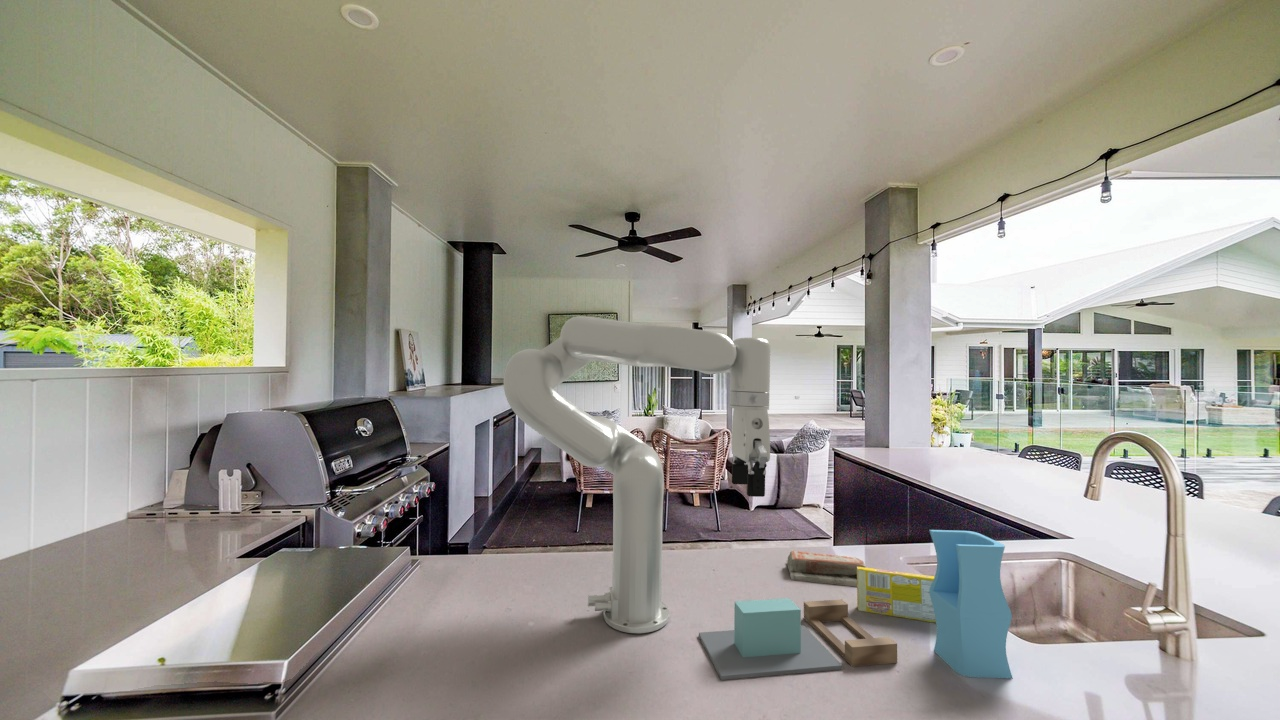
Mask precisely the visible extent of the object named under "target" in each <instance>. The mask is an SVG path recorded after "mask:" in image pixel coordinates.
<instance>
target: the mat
mask: <svg viewBox="0 0 1280 720" xmlns="http://www.w3.org/2000/svg"><path fill="white" fill-rule="evenodd" d="M698 637H699V640H700V641H701V643H702V645H703V647H704V649H705V651H706V653H707V655H708V657H709V658H710V659H709V660H711V663H712V664H713V667H714V669H715V670H716V672H717V674H718V677H719V679H720V680H721V681H724V680H726V681H727V680H736V679H737V680H738V679H748V678H758V677H770V676H779V675H783V676H784V675H792V674H802V673H803V674H804V673H815V672H825V671H835V670H837V671H838V670H843V664H841V662H840V661H839V660H838V659H837V658H836V657H835V656H834V655H833V654H832V653H831V652H830V650H828V649H827V648H826V647H825V646H824V645H823V643H822V642H820V640H819V639H817V637H816V636H815V635H814V634H813V633H812V632H811V631H810V630H809V629H808V628H807V627H806V626H805V625H804V624H801V653H793V654H780V655H767V656H754V657H743V656H742V655H741V653H740V652H739V650H738V648H737V647H736V645H735V644H734V629H732V630H718V631H704V632H698Z"/></svg>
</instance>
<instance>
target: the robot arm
mask: <svg viewBox="0 0 1280 720" xmlns="http://www.w3.org/2000/svg"><path fill="white" fill-rule="evenodd" d="M593 361H594V362H603V363H610V364H617V365H624V366H630V367H640V368H652V367H653V368H654V367H664V368H666V367H667V368H675V369H684V370H690V371H697V372H700V373H701V374H702V373H703V374H705V375H717V374H726V373H727V374H728V373H729V374H730V375H729V376H730V379H729V408H730V409H733V411H732V424H731V435H730V436H731V437H730V438H731V439H730V440H731V441H730V442H731V443H730V444H731V445H730V446H731V447H730V448H731V454H732V458H731V463H732V464H731V484H733V485H746V495H747V496H748V497H755V498H756V497H757V498H761V497H763V498H764V497H765V495H766V475H767V470H766V468H767V466H768V465H767V463H768V462H770V460H771V435H770V431H771V430H770V419H769V412H768V410H770V388H771V386H770V382H771V380H770V377H771V371H770V370H771V344H770V342H769V341H768V339H765V338H762V337H739V338H736V339H734V340H733V339H731V338H730V337H729V336H728V335H726V334H724V333H721V332H717V331H712V330H706V329H705V330H704V329H696V328H688V327H680V326H669V325H666V326H665V325H657V324H650V323H640V322H631V321H624V320H616V319H608V318H602V317H594V316H585V315H580V316H578V315H577V316H573V317H571V318H569V319H567V320H566V322H564V324H563V326H562V327H561V330H560V336H559V337H558V338H556V339H555V340H554V341H553V342H551V343H549V344H548V345H547V346H545V347H544V348H542V349H537V348H526V349H522V350H520V351H517V352H516V353H514V354H513V355H512V356H511V357H510V358H509V360H508V361H507V363H506V366H505V370H504V374H503V390H504V391H503V392H504V395H505V398H506V401H507V403H508V405H509V407H510V408H511V410H512V411H513V413H514V414H515V415H516V416H517V417H518V418H519V419H520V420H521V421H522V422H523V423H524V424H526V425H527V426H528V427H530V429H532V430H534V431H535V432H537V433H538V434H540V435H541V436H542V437H544V438H545V439H546V440H548V442H550V443H551V444H552V445H554V446H556V447H557V448H559V449H560V450H562V451H563V452H565V453H566V454H567V455H569V456H570V457H571V458H573V459H574V460H575V461H577V462H578V463H579V464H581V465H583V466H584V467H588V468H600V467H601V468H603V469H604V470H606V471H607V472H608V473H609V474H612V475H613V476H612V477H613V478H612V499H613V500H612V503H613V504H612V506H613V507H612V509H613V512H612V513H613V516H612V517H613V519H612V522H613V523H612V524H613V525H612V536H613V537H612V582H611V583H612V585H611V586H609V589H608V590H609V591H607V592H604V594H588V595H587V606H588V607H594V611H595V612H600V611H603V620H604V622H605V623H606V624H607V625H608V626H609V627H611V629H612V628H613V629H614V630H616V631H619V632H623V633H628V634H646V633H647V634H648V633H652V632H655V631H658V630H660V629H662V628H664V626H666V625H667V624H668V623H669V620H670V609H669V607H668V606H667V605H666V603H665V602H664V601H663V600H662V592H663V591H662V589H663V588H662V587H663V583H662V581H663V577H662V576H663V510H664V492H665V476H664V468H663V463H662V461H661V458H660V456H659V454H658V452H657V451H656V450H655V449H654V448H653V447H652V446H650V445H649V444H647V443H646V442H644V441H643V440H641V439H639V438H638V437H637V436H636V435H634V434H632V433H631V432H630V431H628V430H626V429H625V428H624V427H622V426H620V425H619V424H618V423H616V421H613V420H611V419H610V418H608V417H605V416H603V415H602V416H601V415H591V414H589V413H588V412H586V411H585V410H583V409H582V408H580V407H578V406H577V405H576V404H574V403H573V402H572V401H570V400H569V399H568V398H566V397H565V396H563V395H561V394H560V393H559V392H557V391H556V390H555V389H554V388H556V387H558V386H559V385H560V384H562V383H563V382H566V381H567V380H568V379H569V378H570V377H572V376H573V375H575V374H576V373H578V372H579V371H580V370H582V369H583V368H585V367H587V366H588V365H589V364H590V363H591V362H593Z"/></svg>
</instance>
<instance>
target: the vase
mask: <svg viewBox="0 0 1280 720" xmlns="http://www.w3.org/2000/svg"><path fill="white" fill-rule="evenodd" d="M929 534H930V537H931V540H932V542H933V545H934V551H935V554H936V562H937V563H936V569H935V570H936V572H935V575H934V576H935V577H934V580H933V582H932V584H931V587H930V589H929V592H930V598H931V601H932V604H933V608H934V612H935V617H936V623H935V624H936V638H935V643H934V648H933V651H934V652H935V653H936V655H938V656H939V657H940V658H941V659H942V660H943V661H944V662H945V663H946V664H947V665H948V666H949V667H950V668H951V669H952V670H953V671H954V672H955V673H957V674H959V675H961V676H963V677H967V678H984V679H985V678H986V679H987V678H988V679H1011V680H1012V679H1013V675H1012V672H1011V668H1010V665H1009V660H1008V656H1007V639H1008V638H1007V637H1008V632H1009V630H1010V629H1009V628H1010V626H1011V623H1012V611H1011V609H1010V607H1009V604H1008V601H1007V598H1006V597H1005V593H1004V590H1003V586H1002V582H1001V581H1002V580H1001V566H1002V560H1003V555H1004V551H1005V548H1006V545H1004V544H1003V543H1001V542H999V541H997V540H995V539H993V538H990V537H989V536H987V535H984V534H981V533H979V532H976V531H971V530H956V529H955V530H950V529H949V530H947V529H946V530H945V529H929Z"/></svg>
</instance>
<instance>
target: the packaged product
mask: <svg viewBox="0 0 1280 720" xmlns="http://www.w3.org/2000/svg"><path fill="white" fill-rule="evenodd" d="M786 564H787V565H786V566H787V569H788V572H789V576H790V579H791V580H793V581H803V582H805V581H806V582H811V583H819V584H821V583H822V584H830V585H839V586H848V587H849V586H850V587H857V567H865V568H867V566H866V564H865V563H864V561H863V560H862V559H860V558H857V557H855V556H853V557H852V556H845V555H838V554H837V555H835V554H829V553H827V554H826V553H819V552H807V551H799V550H791V551H790V552H789V555H788V556H787V560H786Z"/></svg>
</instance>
